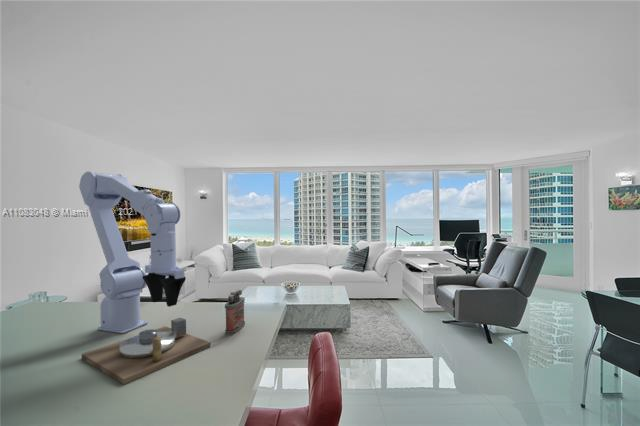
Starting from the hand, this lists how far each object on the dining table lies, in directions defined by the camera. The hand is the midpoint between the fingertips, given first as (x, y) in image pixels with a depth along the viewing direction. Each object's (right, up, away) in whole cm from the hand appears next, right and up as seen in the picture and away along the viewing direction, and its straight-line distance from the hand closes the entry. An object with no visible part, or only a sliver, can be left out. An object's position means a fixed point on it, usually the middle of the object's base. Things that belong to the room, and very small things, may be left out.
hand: (164, 303), depth 81 cm
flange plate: (+2, -7, -8) cm, 11 cm away
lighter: (+17, -8, +5) cm, 19 cm away
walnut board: (+1, -9, -9) cm, 12 cm away
